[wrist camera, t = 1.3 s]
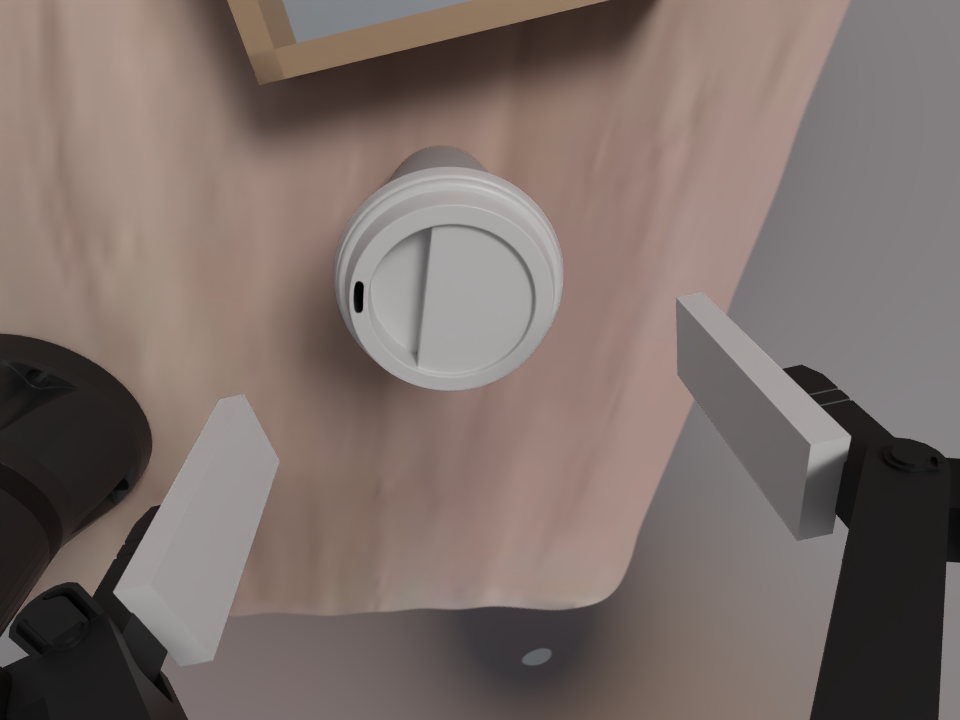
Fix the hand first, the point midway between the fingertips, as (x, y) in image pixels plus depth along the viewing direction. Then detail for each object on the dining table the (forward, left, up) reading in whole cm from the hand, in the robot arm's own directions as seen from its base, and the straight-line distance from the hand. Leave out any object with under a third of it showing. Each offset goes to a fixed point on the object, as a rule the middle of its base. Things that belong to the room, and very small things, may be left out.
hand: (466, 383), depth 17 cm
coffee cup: (0, 0, -21) cm, 21 cm away
